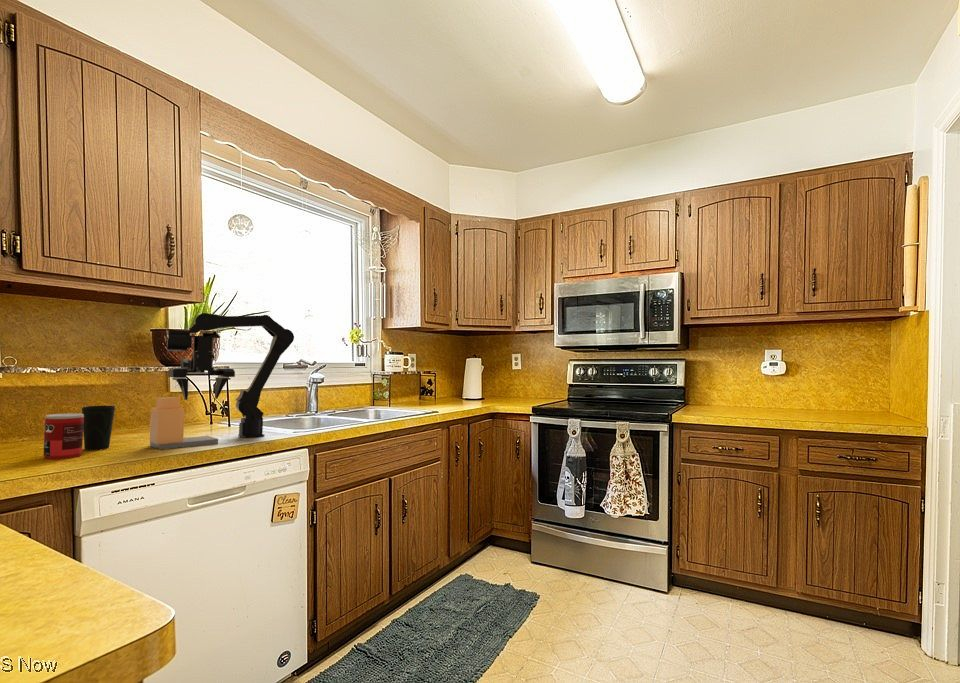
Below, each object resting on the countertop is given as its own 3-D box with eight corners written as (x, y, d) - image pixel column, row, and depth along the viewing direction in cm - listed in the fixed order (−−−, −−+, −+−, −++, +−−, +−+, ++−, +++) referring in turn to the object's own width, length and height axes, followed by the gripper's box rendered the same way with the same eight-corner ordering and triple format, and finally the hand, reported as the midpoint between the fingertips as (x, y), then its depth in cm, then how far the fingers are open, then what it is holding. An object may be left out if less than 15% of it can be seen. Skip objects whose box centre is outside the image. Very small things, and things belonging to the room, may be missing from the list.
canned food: (49, 455, 135) (51, 413, 135) (86, 453, 138) (88, 413, 138) (37, 460, 128) (40, 416, 128) (76, 458, 131) (78, 416, 131)
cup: (75, 451, 140) (77, 408, 140) (85, 447, 147) (87, 405, 147) (108, 450, 143) (110, 407, 143) (116, 445, 150) (118, 405, 150)
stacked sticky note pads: (175, 439, 155) (177, 396, 155) (183, 441, 150) (184, 398, 151) (149, 441, 150) (151, 397, 150) (157, 444, 145) (159, 399, 146)
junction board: (207, 440, 162) (207, 426, 163) (218, 443, 156) (218, 429, 157) (149, 445, 151) (150, 430, 151) (159, 449, 145) (160, 434, 145)
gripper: (223, 352, 177) (221, 396, 177) (163, 350, 164) (160, 398, 163) (236, 352, 170) (234, 398, 169) (174, 350, 156) (172, 401, 156)
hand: (201, 399), depth 165 cm, fingers open, 9 cm apart
